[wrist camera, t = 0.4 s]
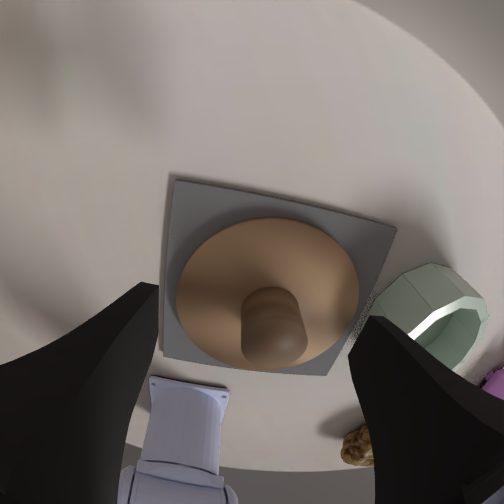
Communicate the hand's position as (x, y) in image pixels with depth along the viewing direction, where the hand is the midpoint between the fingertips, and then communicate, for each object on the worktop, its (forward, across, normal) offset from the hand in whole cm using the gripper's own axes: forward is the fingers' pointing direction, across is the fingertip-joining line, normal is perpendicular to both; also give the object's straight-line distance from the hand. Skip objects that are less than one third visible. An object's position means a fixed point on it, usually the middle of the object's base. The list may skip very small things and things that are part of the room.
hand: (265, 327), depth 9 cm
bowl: (+10, -16, +6) cm, 20 cm away
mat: (+10, -2, +5) cm, 11 cm away
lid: (+9, -2, +5) cm, 11 cm away
